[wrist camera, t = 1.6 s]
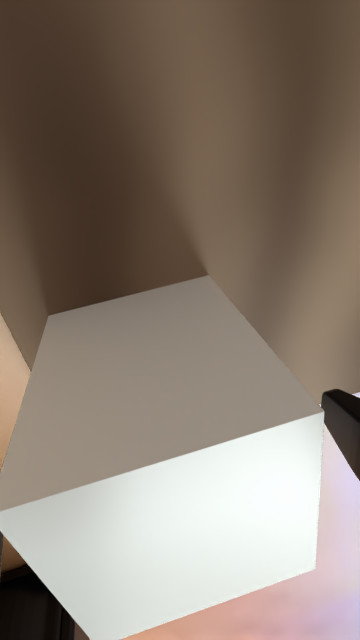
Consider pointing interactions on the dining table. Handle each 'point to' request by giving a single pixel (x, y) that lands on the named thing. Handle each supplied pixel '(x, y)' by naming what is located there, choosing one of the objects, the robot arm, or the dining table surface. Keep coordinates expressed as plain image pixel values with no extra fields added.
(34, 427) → the white rectangular block
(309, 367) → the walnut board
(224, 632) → the dining table surface
